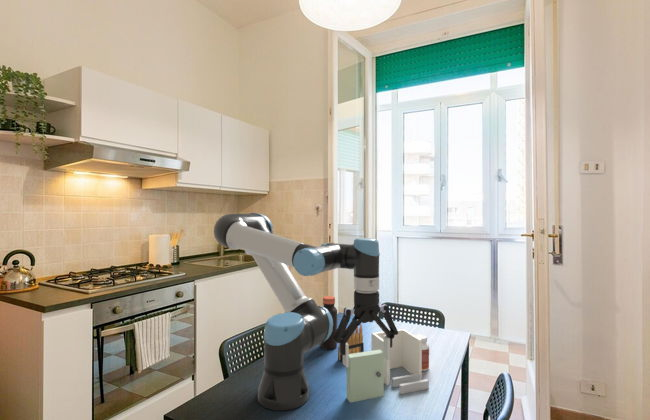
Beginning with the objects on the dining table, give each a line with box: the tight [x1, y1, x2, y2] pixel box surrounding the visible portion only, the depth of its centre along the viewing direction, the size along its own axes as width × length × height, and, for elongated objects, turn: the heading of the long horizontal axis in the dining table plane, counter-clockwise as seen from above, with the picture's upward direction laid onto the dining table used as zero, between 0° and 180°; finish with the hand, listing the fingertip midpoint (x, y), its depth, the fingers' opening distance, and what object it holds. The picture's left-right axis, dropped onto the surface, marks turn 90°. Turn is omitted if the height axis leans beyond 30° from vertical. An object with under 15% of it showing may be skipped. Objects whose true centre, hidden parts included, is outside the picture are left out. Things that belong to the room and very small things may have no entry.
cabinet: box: [370, 328, 430, 395], centre depth 114 cm, size 13×17×13 cm
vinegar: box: [319, 295, 338, 351], centre depth 140 cm, size 7×7×20 cm
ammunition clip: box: [337, 323, 365, 363], centre depth 130 cm, size 11×2×12 cm, turn 121°
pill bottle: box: [414, 333, 430, 372], centre depth 122 cm, size 6×6×11 cm
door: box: [346, 350, 385, 403], centre depth 102 cm, size 11×4×13 cm, turn 110°
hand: (366, 361), depth 103 cm, fingers open, 13 cm apart
